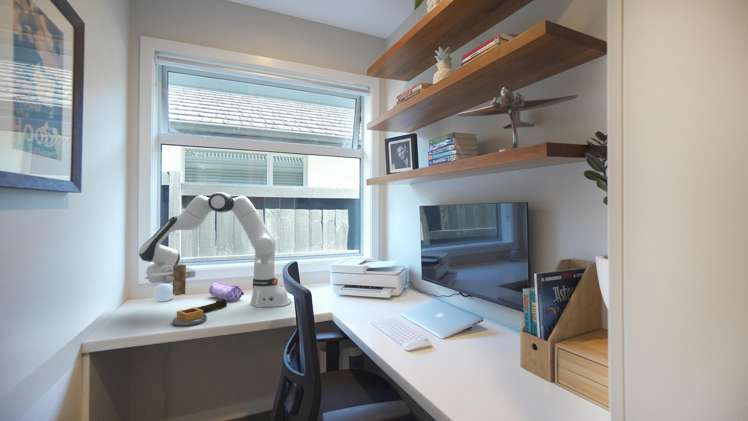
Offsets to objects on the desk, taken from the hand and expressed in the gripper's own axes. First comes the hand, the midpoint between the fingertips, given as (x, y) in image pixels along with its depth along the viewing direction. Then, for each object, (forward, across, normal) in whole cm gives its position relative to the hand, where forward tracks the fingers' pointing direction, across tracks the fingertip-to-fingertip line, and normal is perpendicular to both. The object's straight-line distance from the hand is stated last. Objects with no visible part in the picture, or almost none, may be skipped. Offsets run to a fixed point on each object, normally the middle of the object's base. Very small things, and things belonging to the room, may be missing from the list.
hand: (180, 277), depth 158 cm
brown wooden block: (-1, 0, +8) cm, 8 cm away
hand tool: (+1, +15, +20) cm, 25 cm away
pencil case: (-15, +32, +20) cm, 41 cm away
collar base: (+10, 0, +19) cm, 22 cm away
